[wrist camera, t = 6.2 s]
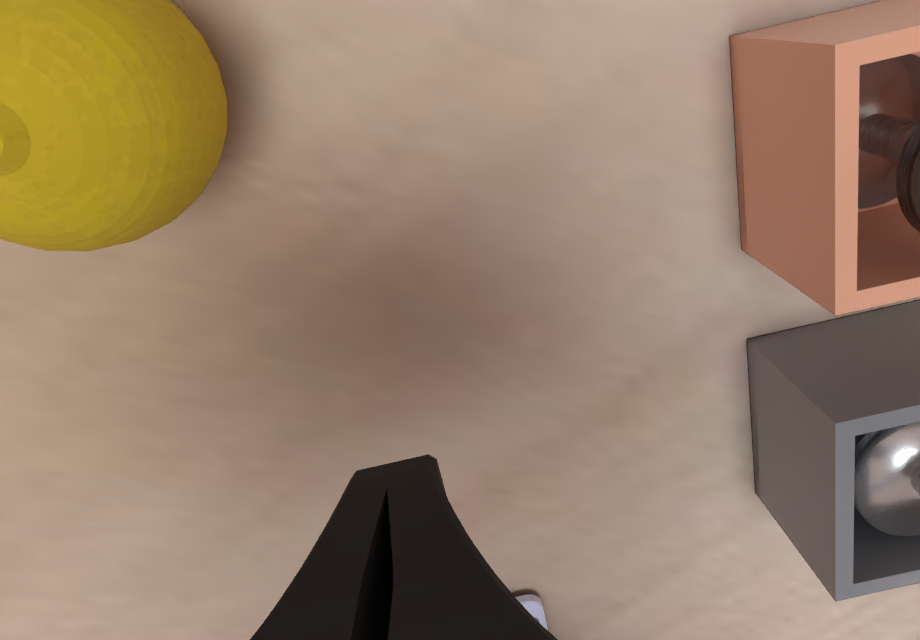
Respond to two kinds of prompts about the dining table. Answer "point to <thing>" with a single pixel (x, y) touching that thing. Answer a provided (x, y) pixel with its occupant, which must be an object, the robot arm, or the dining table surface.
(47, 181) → the lemon
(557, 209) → the dining table surface
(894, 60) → the dark metallic spool
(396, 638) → the robot arm
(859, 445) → the charcoal plunger
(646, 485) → the dining table surface
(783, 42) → the tan open box
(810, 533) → the gray open box
